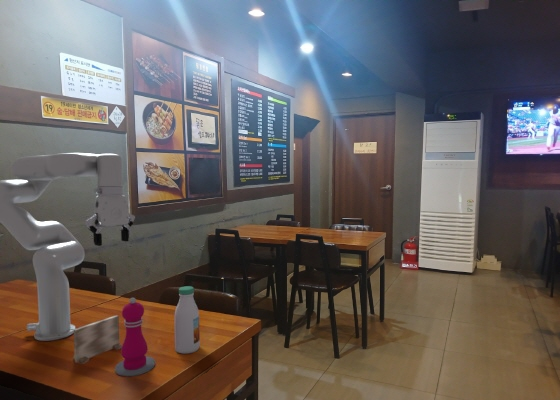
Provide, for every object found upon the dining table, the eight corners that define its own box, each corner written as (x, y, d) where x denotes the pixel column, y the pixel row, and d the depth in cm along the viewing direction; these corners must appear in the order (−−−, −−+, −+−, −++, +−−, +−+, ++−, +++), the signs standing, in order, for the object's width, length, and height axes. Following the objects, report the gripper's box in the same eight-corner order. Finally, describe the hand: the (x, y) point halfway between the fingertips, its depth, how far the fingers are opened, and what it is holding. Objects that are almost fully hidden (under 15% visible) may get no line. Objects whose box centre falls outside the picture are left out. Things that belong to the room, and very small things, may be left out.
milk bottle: (187, 356, 119) (186, 292, 118) (169, 350, 123) (168, 289, 122) (204, 347, 126) (203, 286, 124) (187, 341, 130) (186, 283, 128)
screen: (80, 364, 114) (79, 331, 114) (71, 360, 117) (70, 327, 116) (123, 347, 126) (122, 317, 125) (114, 343, 129) (113, 314, 128)
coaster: (110, 378, 107) (110, 376, 107) (119, 359, 117) (119, 357, 117) (152, 374, 109) (152, 372, 109) (157, 356, 119) (157, 354, 119)
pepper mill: (139, 372, 109) (136, 302, 107) (116, 369, 110) (113, 301, 109) (152, 360, 116) (150, 294, 114) (131, 357, 117) (128, 293, 116)
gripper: (91, 193, 118) (93, 248, 119) (140, 191, 132) (141, 240, 134) (78, 192, 122) (80, 246, 124) (126, 190, 137) (128, 238, 138)
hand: (112, 243), depth 129 cm, fingers open, 9 cm apart
